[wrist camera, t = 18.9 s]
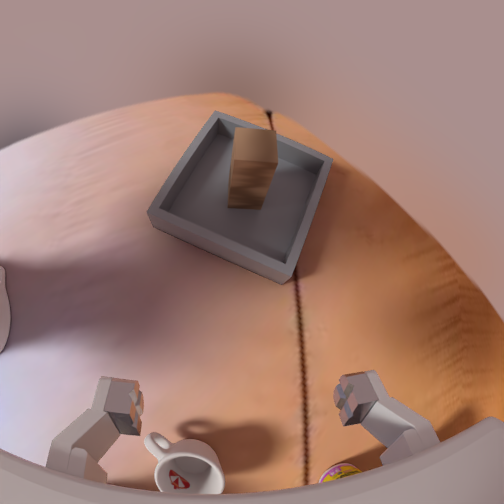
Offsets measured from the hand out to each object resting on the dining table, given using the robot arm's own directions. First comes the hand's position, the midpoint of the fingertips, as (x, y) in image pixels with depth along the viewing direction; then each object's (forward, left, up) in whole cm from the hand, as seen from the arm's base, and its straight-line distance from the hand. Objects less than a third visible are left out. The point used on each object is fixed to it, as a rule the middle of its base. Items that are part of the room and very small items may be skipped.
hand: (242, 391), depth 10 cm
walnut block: (-6, +22, -26) cm, 35 cm away
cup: (+1, -15, -28) cm, 31 cm away
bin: (-6, +22, -27) cm, 36 cm away
